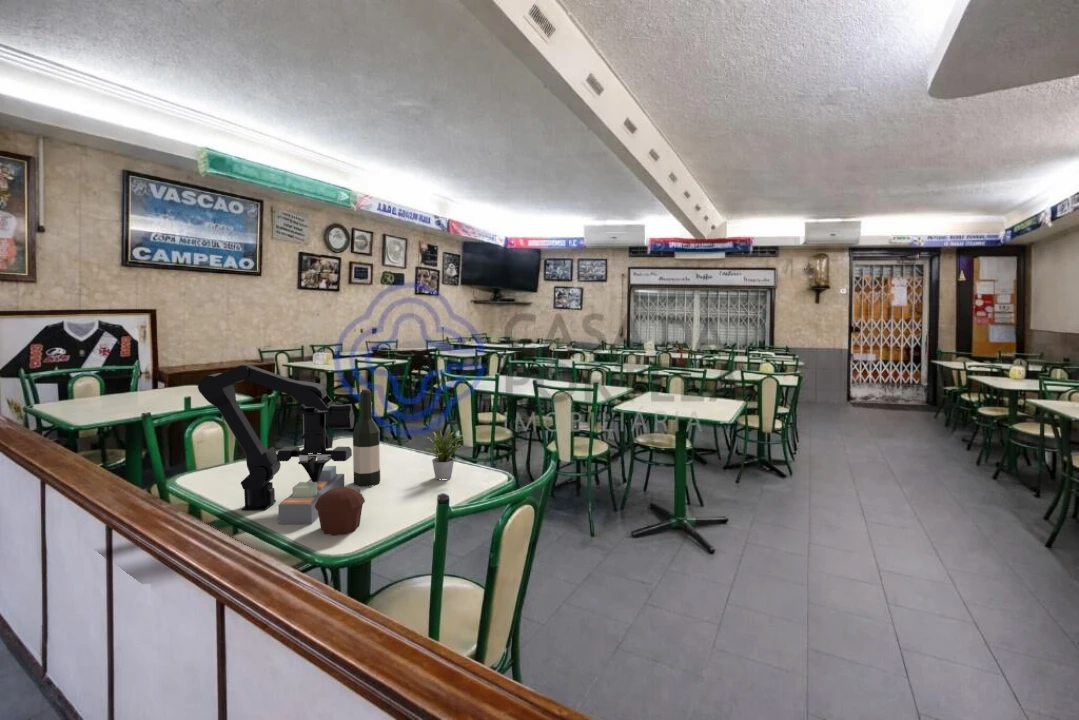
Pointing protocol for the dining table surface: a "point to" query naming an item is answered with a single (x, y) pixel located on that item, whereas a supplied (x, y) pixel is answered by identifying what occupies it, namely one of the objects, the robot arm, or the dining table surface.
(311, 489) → the sage key
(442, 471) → the house plant
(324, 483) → the terracotta key
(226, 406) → the robot arm
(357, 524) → the muffin
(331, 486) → the console
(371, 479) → the wine bottle
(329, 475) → the slate key
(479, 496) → the dining table surface
